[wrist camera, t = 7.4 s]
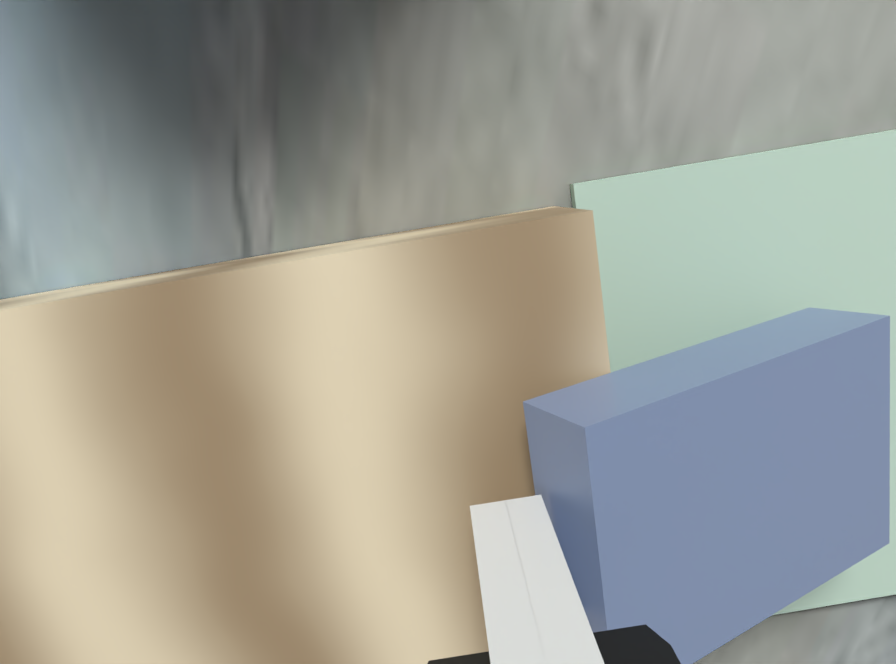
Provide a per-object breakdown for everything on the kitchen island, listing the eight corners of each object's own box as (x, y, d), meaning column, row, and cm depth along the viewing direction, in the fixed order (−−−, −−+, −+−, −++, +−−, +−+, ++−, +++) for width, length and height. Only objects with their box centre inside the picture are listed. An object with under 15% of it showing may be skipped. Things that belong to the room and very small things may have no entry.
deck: (43, 715, 20) (-51, 843, 16) (-104, 317, 17) (-263, 354, 13) (605, 620, 20) (649, 725, 16) (553, 206, 17) (592, 210, 13)
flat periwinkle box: (556, 651, 14) (616, 710, 12) (522, 401, 13) (584, 427, 11) (814, 512, 18) (889, 543, 16) (808, 307, 16) (890, 315, 15)
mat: (622, 630, 20) (626, 639, 20) (569, 184, 17) (573, 183, 16) (1025, 562, 20) (1037, 570, 20) (1047, 103, 17) (1062, 101, 16)
